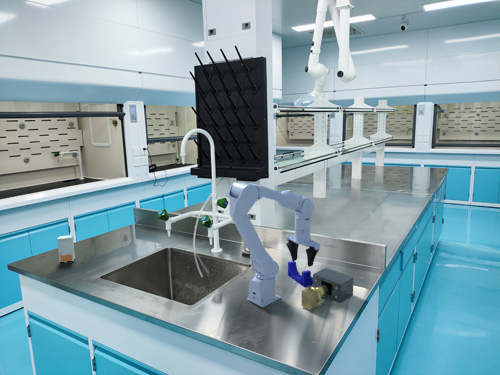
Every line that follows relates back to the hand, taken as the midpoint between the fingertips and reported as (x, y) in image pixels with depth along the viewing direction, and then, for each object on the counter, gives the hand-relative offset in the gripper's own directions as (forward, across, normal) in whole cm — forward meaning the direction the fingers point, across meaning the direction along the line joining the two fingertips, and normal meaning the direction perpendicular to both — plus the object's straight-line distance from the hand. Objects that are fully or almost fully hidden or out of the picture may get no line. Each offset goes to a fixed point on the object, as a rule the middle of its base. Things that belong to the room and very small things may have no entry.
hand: (302, 263), depth 131 cm
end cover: (+9, -11, +7) cm, 16 cm away
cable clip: (+10, +5, -5) cm, 12 cm away
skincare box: (+10, +96, +57) cm, 112 cm away
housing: (+10, -11, -4) cm, 15 cm away
